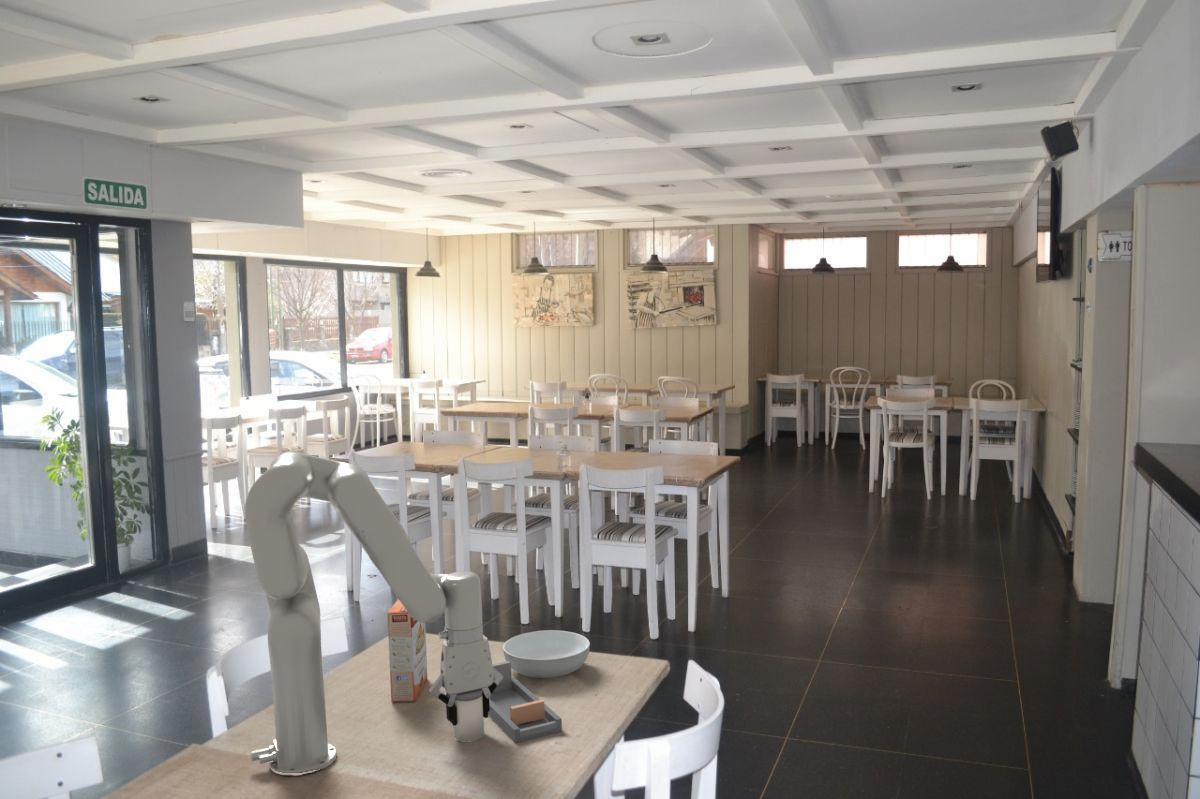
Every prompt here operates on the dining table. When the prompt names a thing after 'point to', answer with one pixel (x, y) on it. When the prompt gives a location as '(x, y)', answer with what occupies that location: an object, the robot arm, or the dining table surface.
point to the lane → (516, 694)
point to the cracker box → (406, 654)
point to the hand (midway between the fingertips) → (468, 718)
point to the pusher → (527, 712)
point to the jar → (469, 716)
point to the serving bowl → (546, 653)
